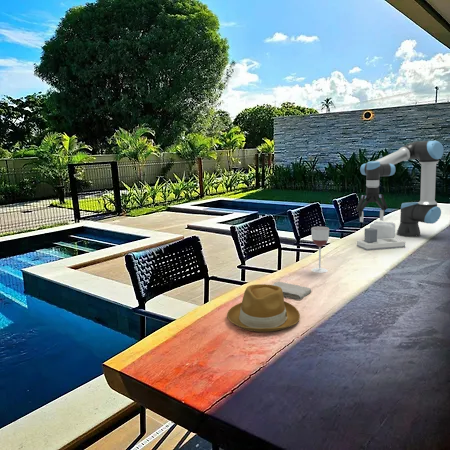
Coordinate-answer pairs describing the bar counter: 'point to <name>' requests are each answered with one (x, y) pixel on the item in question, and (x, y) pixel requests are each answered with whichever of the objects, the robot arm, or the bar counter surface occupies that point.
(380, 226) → the cable organizer
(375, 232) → the plug
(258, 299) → the fedora
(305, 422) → the bar counter surface
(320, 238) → the wineglass
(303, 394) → the bar counter surface
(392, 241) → the socket plate
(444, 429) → the bar counter surface
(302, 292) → the washcloth
